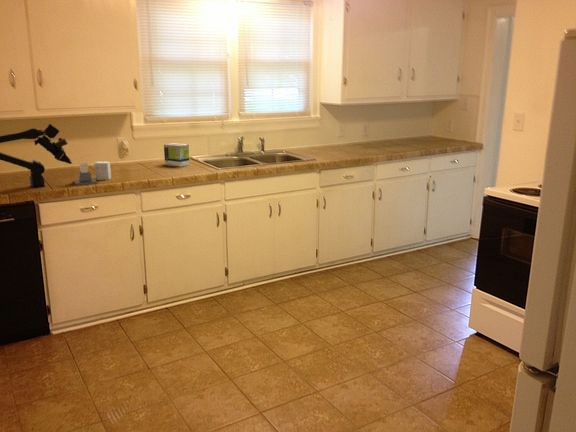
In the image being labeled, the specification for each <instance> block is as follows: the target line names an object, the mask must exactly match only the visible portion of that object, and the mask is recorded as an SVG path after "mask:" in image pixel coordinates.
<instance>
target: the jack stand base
mask: <svg viewBox="0 0 576 432" xmlns="http://www.w3.org/2000/svg"><path fill="white" fill-rule="evenodd" d="M73 182H74V185H75V186H84V185H96V184H98V181H97V180H96V177H92V172H91V171H90V170H88V173H81V171H78V178H74V179H73Z"/></svg>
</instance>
